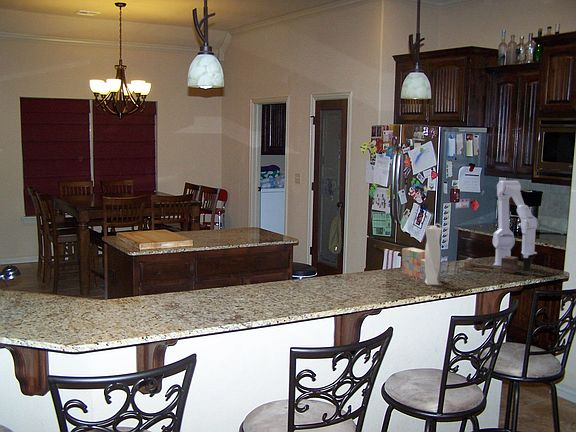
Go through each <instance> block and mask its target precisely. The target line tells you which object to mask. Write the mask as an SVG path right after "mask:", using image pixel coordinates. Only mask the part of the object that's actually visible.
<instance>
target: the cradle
mask: <svg viewBox="0 0 576 432" xmlns="http://www.w3.org/2000/svg"><path fill="white" fill-rule="evenodd" d="M473 266H475V267H473ZM483 267H484V268H483ZM493 267H494V265H493V264H492V265H490V264H480V263H474V258H472V257H468V258H466V259H465V261H464V266H463V270H464V271H472V270H473V271H475V272H483V273H489V271H490V270H489V269H493Z"/></svg>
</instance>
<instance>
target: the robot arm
mask: <svg viewBox="0 0 576 432" xmlns="http://www.w3.org/2000/svg"><path fill="white" fill-rule="evenodd" d="M521 190H522V185H521V183H520V181H519V180H500V181H499V182H497V184H496V196H497V199H498V200H497V201H498V202H497V203H498V205H497V207H498V209H497V210H498V229H497V230H496V231H495V232H493V237H492V245H493V247H494V248H495V259H494V261H495V262H494V263H493V264H492V265H493V266H495V267H496V266H498V267H501V260H502V259H501V258H502V257H505V256H511V253H512V252H511V250H512V249H513V247H514V246H515V243H516V241H515V235H514V232H513V231H512V230H511V229H510V199H511V198H512V200H513V202H514V203H515V205H516V206H517V208H516V213H517V215H518V217H519V219H520V229H521V233H522V239H521V241H522V242H521V252H520V253H521V254H522V255H520V258H521V260H522V263H523V268H524V271H526V272H527V271H530V270H531V266H532V263H533V260H534V258H535V255H537V254H538V252H537V251H535V249H536V248H535V247H536V245H535V244H536V230H537V229H539V220H538V218H537V217H535V216H534V215H533V213H532V212H531V210H530V207H529V205H526V204H525V202H524V199H523V197H522V192H521ZM511 257H512V256H511Z"/></svg>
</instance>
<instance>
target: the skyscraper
mask: <svg viewBox="0 0 576 432" xmlns="http://www.w3.org/2000/svg"><path fill="white" fill-rule="evenodd" d="M437 225H439V227H438V226H437ZM424 229H425V236H426V243H425V249H424V251H425V272H426V280H423V281H424V283H425V284H426V285H427V286H443V283H442V282H441V280H440V279H441V264H440V263H441V245H440V238H441V233H442V230H443V228H442V225H441V224H440V223H435V224H434V225H427V226H425V227H424Z"/></svg>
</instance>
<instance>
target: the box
mask: <svg viewBox="0 0 576 432" xmlns="http://www.w3.org/2000/svg"><path fill="white" fill-rule="evenodd" d="M501 259H502V260H501V266H500V267H501V268H500V269H501V270H500V271H501V273H507V274H515V273H517V272H518V265H519V257H518V256H505V257H502V258H501Z"/></svg>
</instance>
